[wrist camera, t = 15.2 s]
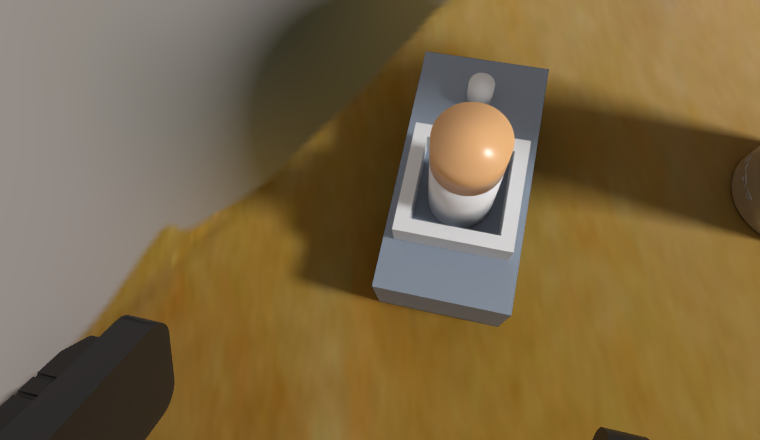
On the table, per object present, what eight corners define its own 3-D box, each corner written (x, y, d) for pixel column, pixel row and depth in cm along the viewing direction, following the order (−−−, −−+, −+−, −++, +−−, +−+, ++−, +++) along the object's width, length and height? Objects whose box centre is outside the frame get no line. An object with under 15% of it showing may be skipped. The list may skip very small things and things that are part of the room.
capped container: (497, 174, 40) (520, 108, 31) (487, 234, 39) (507, 184, 30) (434, 163, 41) (438, 96, 32) (422, 222, 40) (422, 169, 30)
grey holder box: (531, 112, 49) (556, 50, 40) (497, 326, 44) (517, 310, 35) (425, 95, 51) (426, 32, 42) (379, 301, 45) (368, 279, 36)
